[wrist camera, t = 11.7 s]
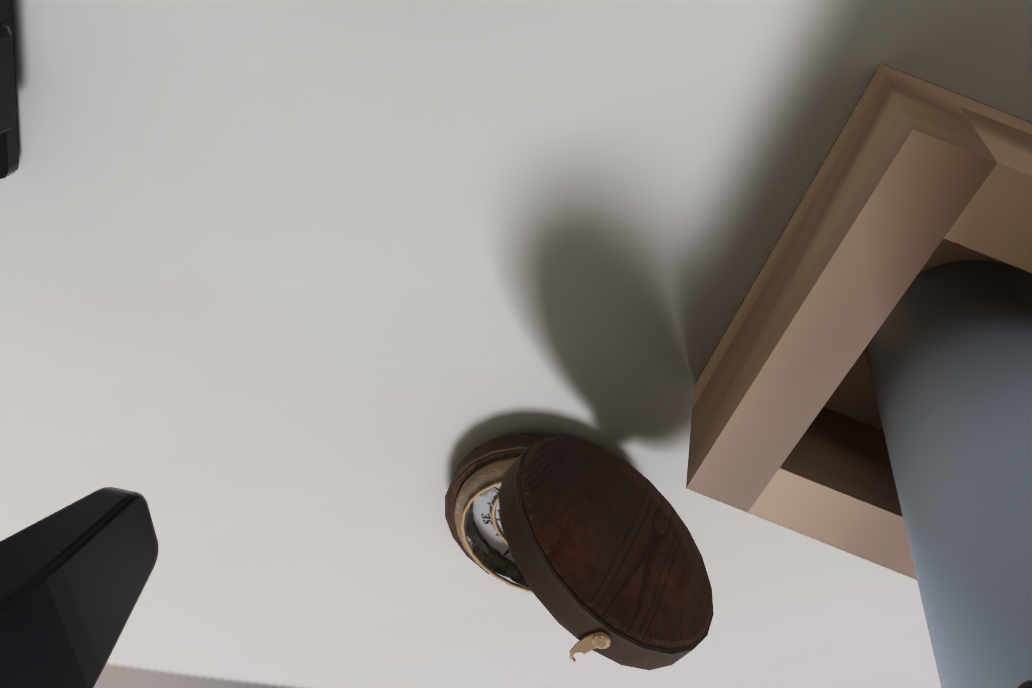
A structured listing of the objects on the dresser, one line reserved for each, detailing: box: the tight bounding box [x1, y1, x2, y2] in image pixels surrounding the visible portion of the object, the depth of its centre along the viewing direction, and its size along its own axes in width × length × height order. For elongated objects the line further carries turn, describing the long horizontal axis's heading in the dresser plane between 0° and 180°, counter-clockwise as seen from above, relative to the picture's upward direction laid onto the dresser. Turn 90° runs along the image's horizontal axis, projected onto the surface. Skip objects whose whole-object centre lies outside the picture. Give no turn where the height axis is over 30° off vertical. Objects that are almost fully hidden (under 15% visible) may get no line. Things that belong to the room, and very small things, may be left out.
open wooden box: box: [686, 64, 1032, 580], centre depth 18 cm, size 9×9×4 cm
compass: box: [445, 435, 713, 670], centre depth 23 cm, size 8×8×7 cm
